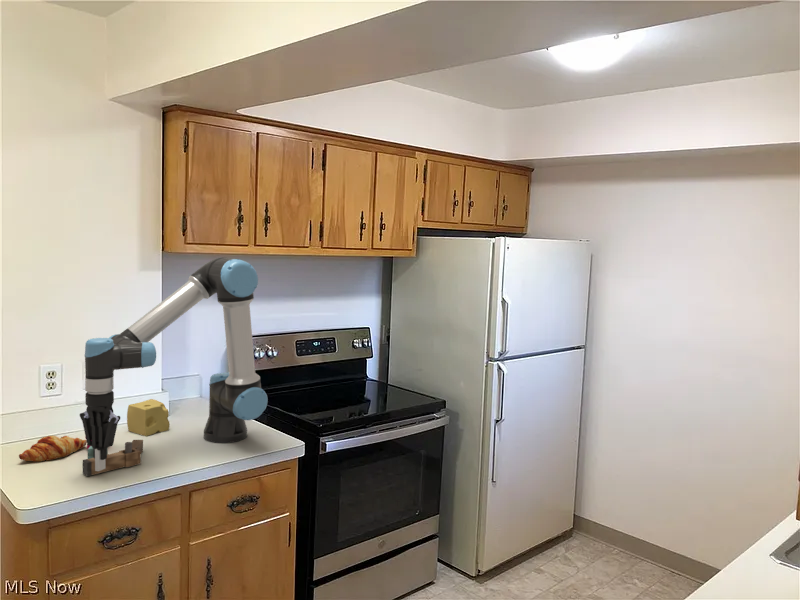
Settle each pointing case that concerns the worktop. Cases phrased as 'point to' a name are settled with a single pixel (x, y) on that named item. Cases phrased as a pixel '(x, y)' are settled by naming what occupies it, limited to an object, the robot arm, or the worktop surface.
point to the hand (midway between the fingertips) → (100, 469)
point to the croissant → (52, 448)
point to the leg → (113, 462)
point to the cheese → (147, 417)
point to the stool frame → (128, 447)
